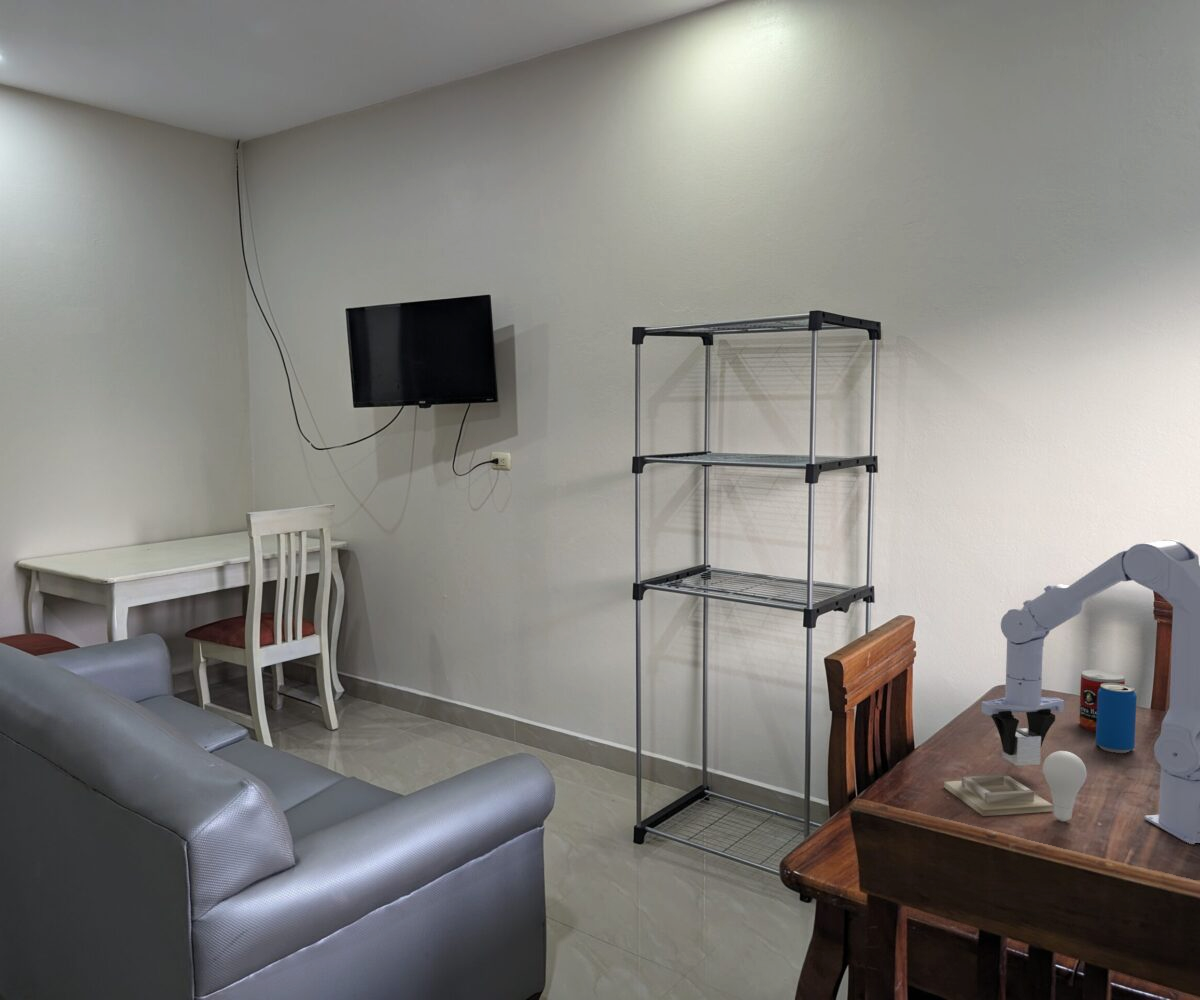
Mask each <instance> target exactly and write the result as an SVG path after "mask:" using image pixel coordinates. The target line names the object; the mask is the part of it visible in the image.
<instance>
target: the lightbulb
mask: <svg viewBox="0 0 1200 1000" xmlns="http://www.w3.org/2000/svg"><path fill="white" fill-rule="evenodd" d="M1042 773H1043V776H1044V779H1045V781H1046V783H1047V784H1048V786H1049V790H1050V792H1051V802H1052V805H1053V816H1054V817H1055V818H1057V820H1059V821H1060V822H1067V821H1069V820H1071V819H1073V818H1072V817H1073V807H1074V806H1075V804H1076V802H1075V801H1076V797H1077V794H1078V792H1079V791H1080V790H1081V788H1082V787H1083V785H1084V784H1085V782H1086V779H1087V768H1086V764H1085V763H1084V762H1083V760H1082V759H1081V758H1080V757H1079V756H1078V755H1076V754H1075V753H1073V752H1070V751H1067V750H1057V751H1054V752H1052V753H1050V754H1049V755H1048V756H1047V757H1046V758H1045V759H1044V761H1043V764H1042Z"/></svg>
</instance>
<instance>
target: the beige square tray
mask: <svg viewBox="0 0 1200 1000" xmlns="http://www.w3.org/2000/svg"><path fill="white" fill-rule="evenodd" d="M943 783H944V784H943V785H944V786H943V787H944V788H945V789H946V790H947V791H949V792H950V793H951V794H953V796H955V797H957V798H958V799H959V800H961V802H964V803H965V804H966V805H967V806H969V807H970V808H972V809H973V810H974V811H975V812H977V813H978V814H980V815H981V816H983V817H988V816H1004V815H1019V814H1033V813H1034V814H1035V813H1047V812H1048V813H1049V812H1054V804H1053V803H1050V802H1049V801H1047V800H1046V799H1044V798H1043V797H1041V796H1040V795H1038V794H1037V793H1035V791H1034V790H1032V789H1030V788H1029V787H1027V786H1026V785H1024V784H1022V783H1021V782H1019V781H1018V780H1016V779H1015V778H1012V777H1011V776H1010V775H1008V774H1006V773H1001V774H999V773H998V774H983V775H972V776H971V775H968V776H961V780H952V781H951V780H950V781H944V782H943Z"/></svg>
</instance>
